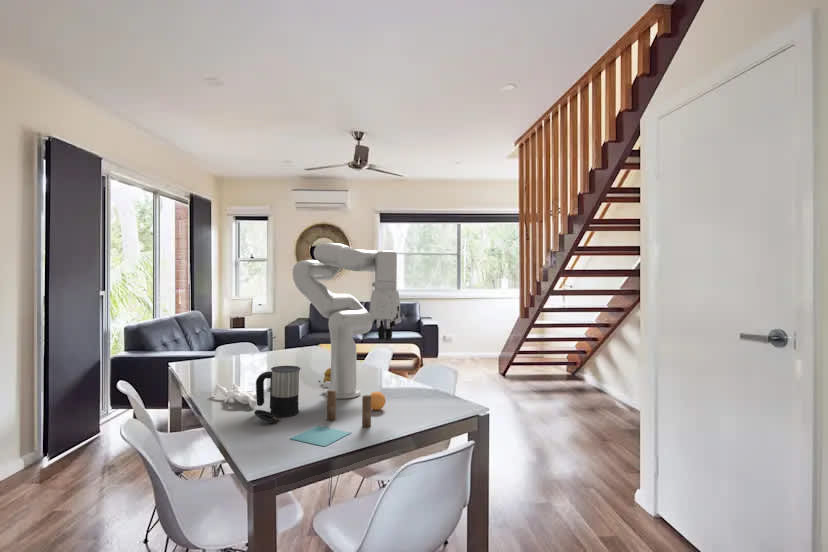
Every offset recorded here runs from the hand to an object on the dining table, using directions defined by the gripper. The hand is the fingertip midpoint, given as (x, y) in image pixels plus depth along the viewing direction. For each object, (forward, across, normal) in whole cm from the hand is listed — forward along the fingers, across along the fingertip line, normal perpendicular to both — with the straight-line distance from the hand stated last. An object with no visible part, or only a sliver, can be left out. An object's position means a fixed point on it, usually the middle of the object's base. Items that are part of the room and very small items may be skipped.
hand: (385, 339), depth 159 cm
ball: (+20, 0, -5) cm, 21 cm away
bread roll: (+24, -35, +19) cm, 46 cm away
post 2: (+23, +6, -21) cm, 32 cm away
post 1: (+23, -6, -21) cm, 32 cm away
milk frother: (+23, -23, -27) cm, 43 cm away
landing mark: (+23, 0, -34) cm, 41 cm away
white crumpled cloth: (+24, -48, -21) cm, 57 cm away
